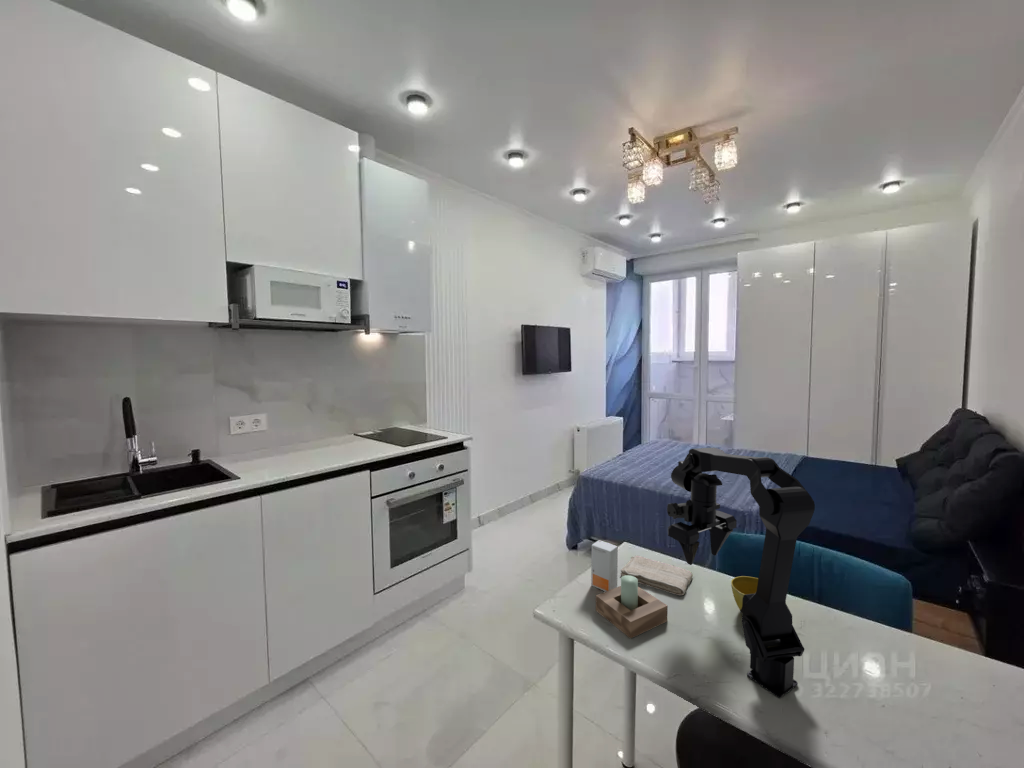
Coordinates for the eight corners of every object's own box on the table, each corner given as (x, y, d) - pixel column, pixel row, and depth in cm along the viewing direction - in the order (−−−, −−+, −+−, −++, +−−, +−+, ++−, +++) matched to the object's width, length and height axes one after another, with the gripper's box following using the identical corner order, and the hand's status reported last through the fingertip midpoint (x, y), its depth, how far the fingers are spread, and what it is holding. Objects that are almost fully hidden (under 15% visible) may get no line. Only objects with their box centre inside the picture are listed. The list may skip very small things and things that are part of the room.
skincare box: (590, 586, 118) (590, 544, 117) (598, 579, 121) (598, 539, 120) (610, 594, 114) (610, 551, 113) (618, 587, 117) (618, 545, 116)
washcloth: (632, 561, 132) (632, 551, 132) (694, 578, 122) (694, 568, 122) (618, 578, 122) (618, 568, 122) (684, 598, 112) (684, 587, 112)
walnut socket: (667, 621, 102) (667, 605, 102) (630, 638, 97) (630, 621, 96) (630, 596, 113) (630, 581, 112) (595, 610, 107) (595, 595, 107)
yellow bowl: (785, 617, 103) (786, 589, 102) (765, 634, 97) (766, 604, 97) (743, 598, 111) (743, 571, 111) (722, 612, 106) (723, 584, 105)
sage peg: (641, 612, 104) (641, 581, 104) (628, 617, 102) (628, 585, 102) (630, 604, 108) (630, 573, 107) (617, 608, 106) (617, 577, 105)
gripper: (699, 483, 116) (698, 538, 117) (650, 495, 107) (650, 555, 108) (738, 495, 106) (736, 555, 108) (688, 510, 97) (687, 575, 99)
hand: (701, 559), depth 106 cm, fingers open, 9 cm apart
